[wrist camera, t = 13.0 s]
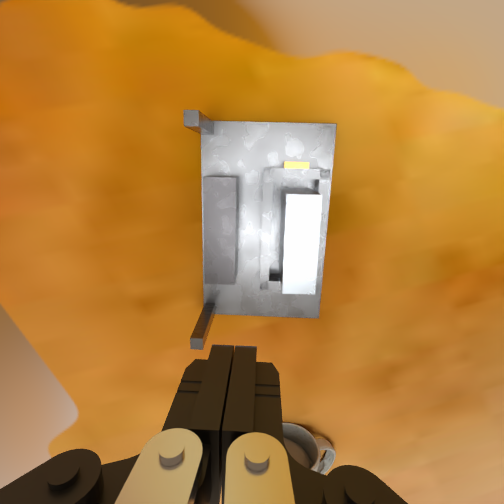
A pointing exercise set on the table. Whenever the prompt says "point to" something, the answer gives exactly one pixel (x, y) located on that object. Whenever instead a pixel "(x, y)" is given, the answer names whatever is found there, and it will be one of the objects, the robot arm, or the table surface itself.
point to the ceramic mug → (307, 448)
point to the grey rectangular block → (299, 239)
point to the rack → (255, 212)
